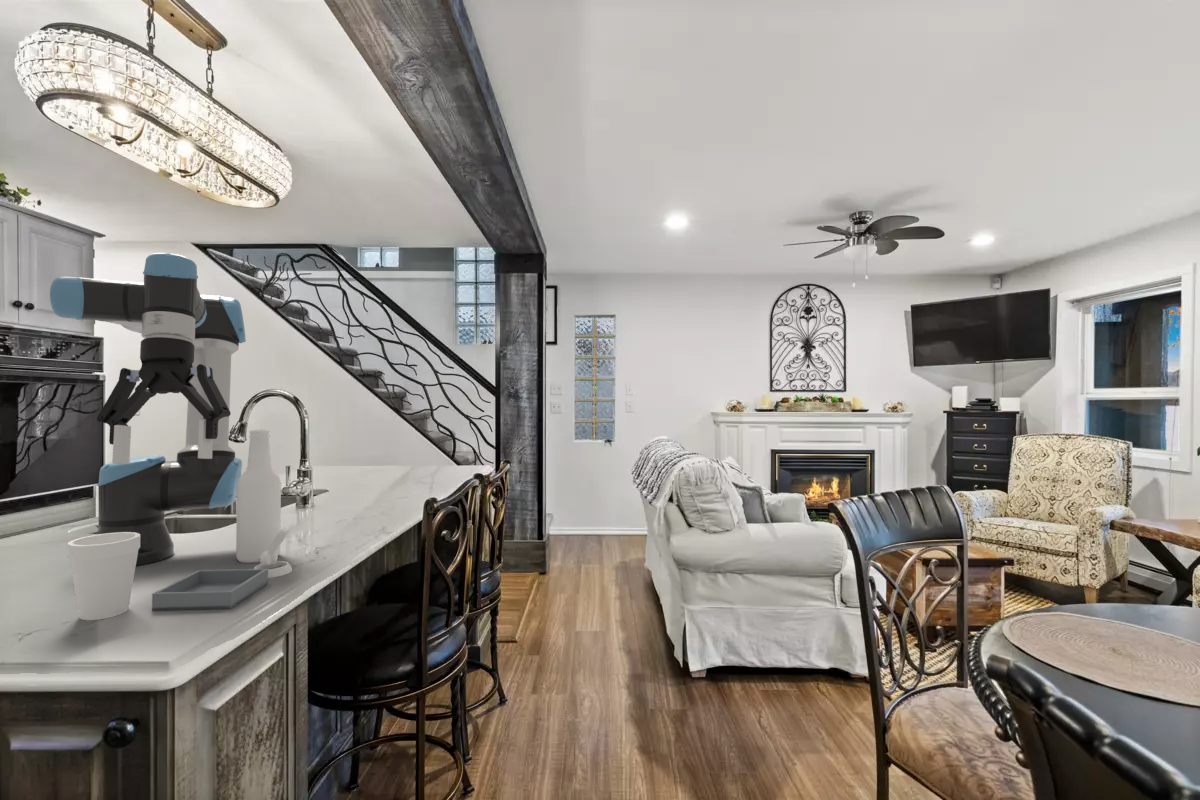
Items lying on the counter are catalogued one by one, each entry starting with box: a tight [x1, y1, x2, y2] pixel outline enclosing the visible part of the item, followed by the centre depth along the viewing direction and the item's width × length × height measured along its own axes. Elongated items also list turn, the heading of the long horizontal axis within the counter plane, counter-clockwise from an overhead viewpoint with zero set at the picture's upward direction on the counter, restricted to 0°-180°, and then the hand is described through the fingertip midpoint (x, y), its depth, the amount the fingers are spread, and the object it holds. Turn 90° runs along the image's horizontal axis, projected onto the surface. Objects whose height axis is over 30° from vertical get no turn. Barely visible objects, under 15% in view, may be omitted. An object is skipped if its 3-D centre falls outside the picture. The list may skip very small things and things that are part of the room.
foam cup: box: [66, 532, 140, 621], centre depth 96 cm, size 10×9×13 cm
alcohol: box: [235, 429, 282, 564], centre depth 129 cm, size 9×9×30 cm
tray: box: [151, 568, 269, 612], centre depth 105 cm, size 13×13×3 cm
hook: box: [253, 526, 293, 579], centre depth 119 cm, size 8×12×7 cm
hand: (163, 461), depth 95 cm, fingers open, 13 cm apart
